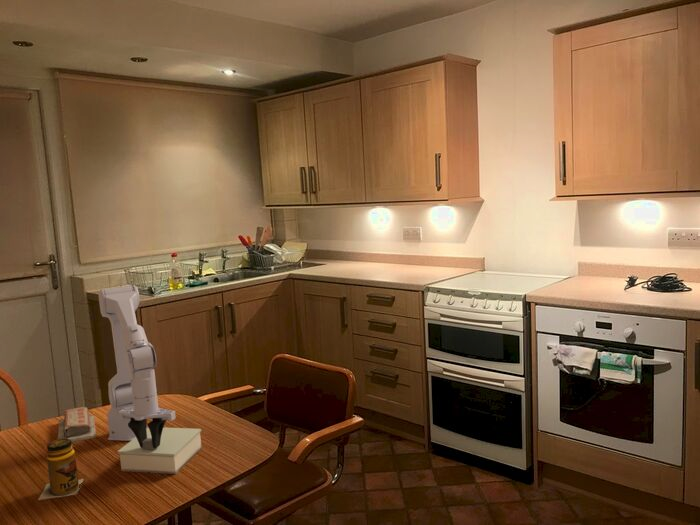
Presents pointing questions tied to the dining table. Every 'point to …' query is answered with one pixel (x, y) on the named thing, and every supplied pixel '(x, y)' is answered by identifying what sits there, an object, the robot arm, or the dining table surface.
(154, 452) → the lid
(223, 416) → the dining table surface
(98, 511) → the dining table surface
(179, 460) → the carton
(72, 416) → the packaged product
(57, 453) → the condiment
